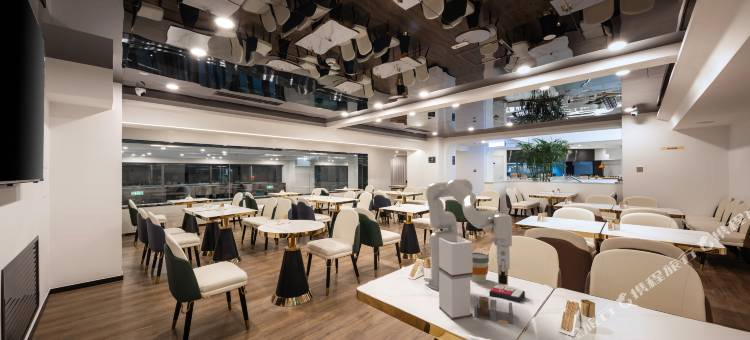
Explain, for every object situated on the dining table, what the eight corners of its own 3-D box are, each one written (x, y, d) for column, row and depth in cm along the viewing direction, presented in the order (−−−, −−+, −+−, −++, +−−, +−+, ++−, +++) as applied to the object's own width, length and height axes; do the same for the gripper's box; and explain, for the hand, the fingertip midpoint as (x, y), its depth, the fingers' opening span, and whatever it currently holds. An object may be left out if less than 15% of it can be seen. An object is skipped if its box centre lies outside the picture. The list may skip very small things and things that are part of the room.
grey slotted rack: (474, 319, 134) (474, 306, 133) (475, 309, 143) (475, 297, 143) (513, 326, 128) (513, 312, 127) (511, 315, 137) (511, 302, 137)
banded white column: (472, 318, 134) (472, 242, 134) (451, 322, 131) (451, 244, 131) (458, 307, 145) (458, 236, 145) (439, 310, 142) (439, 238, 142)
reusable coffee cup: (463, 276, 185) (463, 252, 185) (482, 275, 186) (482, 252, 186) (472, 284, 172) (472, 259, 172) (492, 283, 174) (492, 258, 174)
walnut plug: (479, 314, 136) (479, 299, 135) (479, 310, 139) (479, 296, 139) (488, 316, 134) (488, 301, 134) (488, 312, 138) (488, 297, 138)
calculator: (495, 283, 165) (524, 289, 156) (495, 291, 165) (525, 297, 156) (488, 290, 157) (519, 296, 147) (489, 298, 157) (519, 305, 147)
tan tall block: (507, 285, 131) (507, 269, 131) (498, 284, 132) (498, 268, 132) (507, 282, 134) (507, 266, 134) (498, 280, 136) (498, 265, 136)
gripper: (512, 247, 124) (512, 290, 124) (510, 237, 139) (510, 276, 140) (493, 245, 127) (493, 287, 127) (493, 236, 142) (493, 274, 143)
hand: (502, 281), depth 133 cm, fingers closed on tan tall block, 4 cm apart
